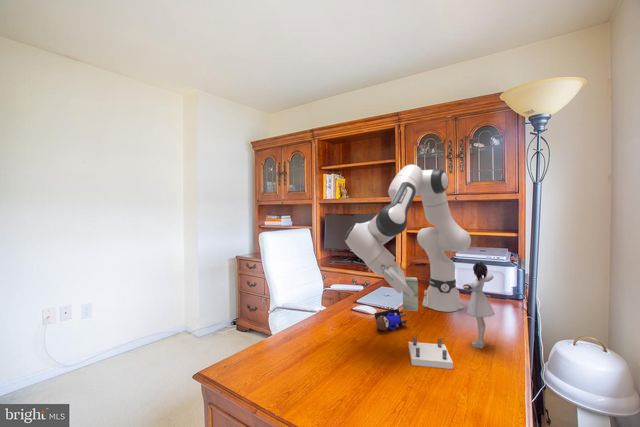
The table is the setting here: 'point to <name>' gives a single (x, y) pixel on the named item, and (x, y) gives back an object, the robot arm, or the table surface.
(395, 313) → the character figurine
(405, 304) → the sage block
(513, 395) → the table surface
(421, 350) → the display base
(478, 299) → the figurine
